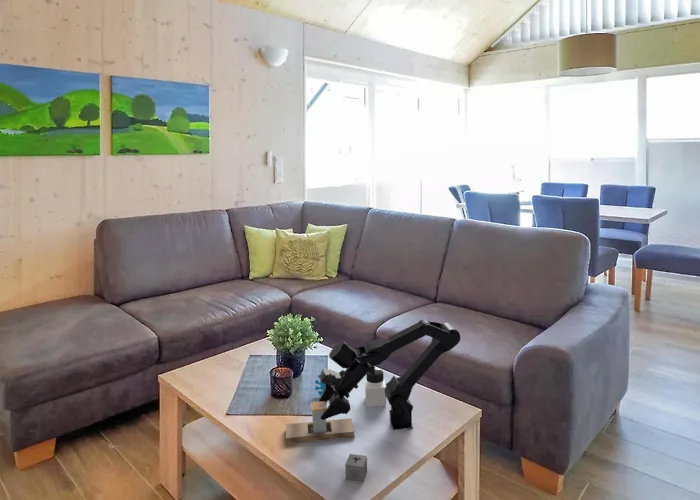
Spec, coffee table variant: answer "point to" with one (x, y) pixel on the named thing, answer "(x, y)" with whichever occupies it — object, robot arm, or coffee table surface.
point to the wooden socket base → (300, 433)
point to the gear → (320, 387)
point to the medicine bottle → (375, 389)
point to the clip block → (318, 417)
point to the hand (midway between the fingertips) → (320, 411)
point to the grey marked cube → (356, 468)
